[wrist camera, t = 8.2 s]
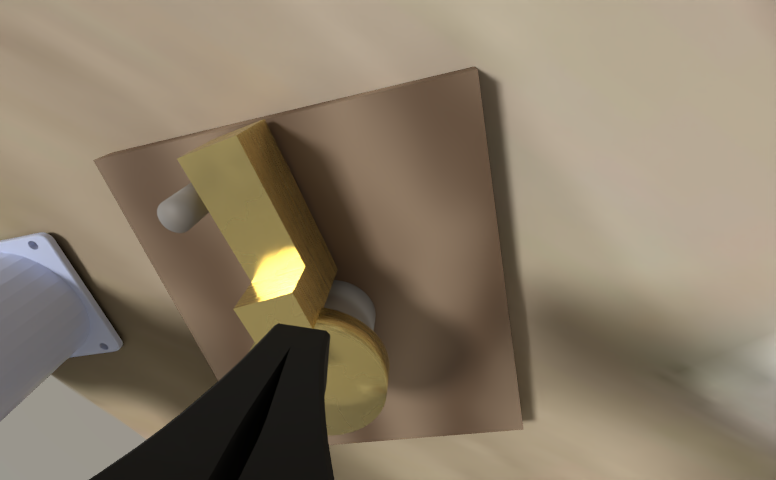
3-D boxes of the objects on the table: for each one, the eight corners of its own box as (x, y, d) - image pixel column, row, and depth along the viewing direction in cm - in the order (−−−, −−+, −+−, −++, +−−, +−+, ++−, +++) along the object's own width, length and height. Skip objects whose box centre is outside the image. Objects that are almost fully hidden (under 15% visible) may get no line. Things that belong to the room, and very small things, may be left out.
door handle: (410, 347, 22) (407, 422, 17) (308, 370, 23) (283, 444, 19) (303, 103, 16) (261, 130, 12) (178, 152, 18) (103, 191, 14)
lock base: (263, 434, 28) (237, 500, 24) (111, 152, 19) (33, 185, 16) (519, 412, 25) (536, 483, 21) (474, 66, 16) (489, 79, 13)
